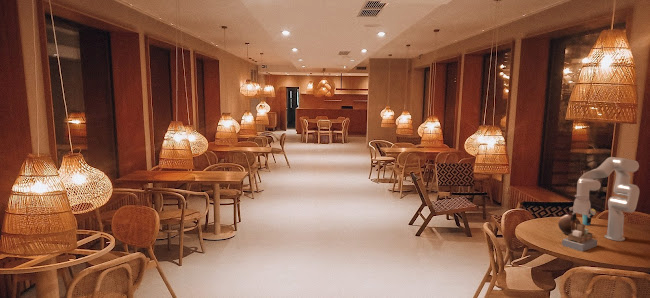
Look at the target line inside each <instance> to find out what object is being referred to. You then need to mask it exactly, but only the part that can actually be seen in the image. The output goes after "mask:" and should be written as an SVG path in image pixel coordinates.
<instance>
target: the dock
mask: <svg viewBox="0 0 650 298" xmlns="http://www.w3.org/2000/svg"><path fill="white" fill-rule="evenodd" d="M562 245H563V246H562ZM561 246H562V247H565V246H566V247H565V248H568V247H569V249H571V250H572V249H573V250H576V251H579V252H586V251H588V250H590V249H593V248H596V247H597V246H598V239H595V238H592V239H590V240H588V241H585V242H582V243H577V241H574V240H573V241H569V240H568V237H565V238H563V239H562V240H561Z"/></svg>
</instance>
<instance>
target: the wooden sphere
mask: <svg viewBox="0 0 650 298" xmlns="http://www.w3.org/2000/svg"><path fill="white" fill-rule="evenodd" d="M557 223H558V227H559V230H560V231H561V232H562V233H564V234H566V235H569V234H572V233H573V231H574V230H577V224H582V223H581V221H580V219H579V218H578V217H577V216H576V220H573V215H572V214H565V215H563V216H561V217H560V218H559V220H558V222H557Z"/></svg>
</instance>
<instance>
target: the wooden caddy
mask: <svg viewBox="0 0 650 298" xmlns="http://www.w3.org/2000/svg"><path fill="white" fill-rule="evenodd" d="M585 228H586V225H584V224H583V223H581V224H577V231H581V232H582V234H581V237H577V236H573V233H572V234H567V235H568V237H567V238H568V240H569V241H573V240H574V241H577V243H582V242H585V241H588V240H590V239H593V233H592V232H589V231H588V234H587V235H584V232H585Z"/></svg>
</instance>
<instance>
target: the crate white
mask: <svg viewBox="0 0 650 298" xmlns="http://www.w3.org/2000/svg"><path fill="white" fill-rule="evenodd" d="M581 234H582V232H581V231H577V230H574V231H573V236H577V237H581Z"/></svg>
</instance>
